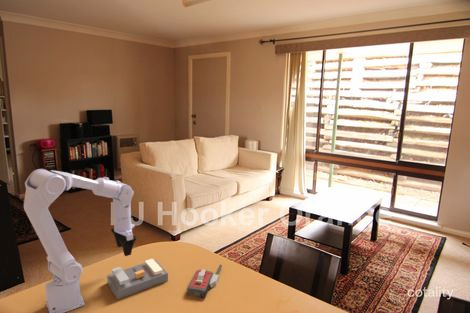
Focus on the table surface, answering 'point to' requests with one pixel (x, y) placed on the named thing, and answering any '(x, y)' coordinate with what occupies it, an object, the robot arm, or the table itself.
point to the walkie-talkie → (203, 282)
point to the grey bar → (120, 275)
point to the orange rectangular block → (139, 274)
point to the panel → (136, 281)
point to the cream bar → (153, 266)
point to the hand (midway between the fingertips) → (124, 250)
